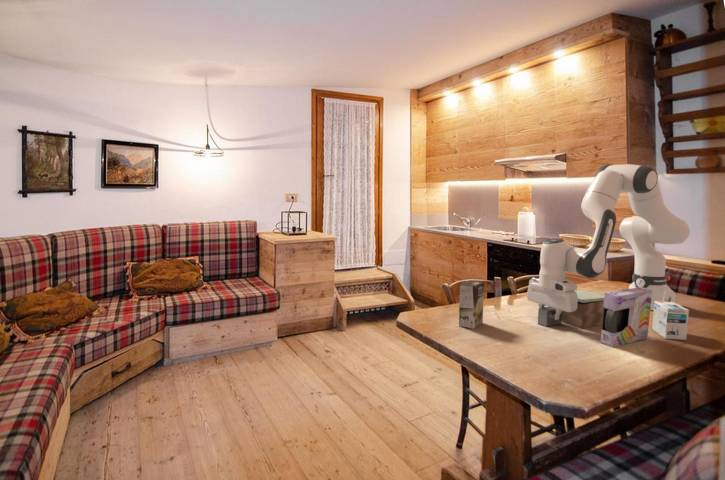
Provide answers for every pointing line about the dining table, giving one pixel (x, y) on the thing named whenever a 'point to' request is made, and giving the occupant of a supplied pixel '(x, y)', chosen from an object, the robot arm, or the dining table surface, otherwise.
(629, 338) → the cake pan box
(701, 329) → the dining table surface
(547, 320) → the block
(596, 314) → the crate
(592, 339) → the dining table surface
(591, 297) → the lid
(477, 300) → the coffee box
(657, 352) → the dining table surface
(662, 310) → the light bulb box
